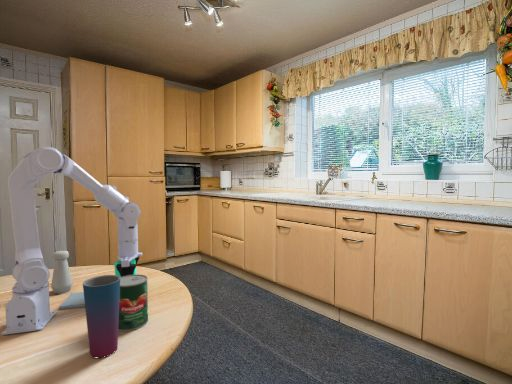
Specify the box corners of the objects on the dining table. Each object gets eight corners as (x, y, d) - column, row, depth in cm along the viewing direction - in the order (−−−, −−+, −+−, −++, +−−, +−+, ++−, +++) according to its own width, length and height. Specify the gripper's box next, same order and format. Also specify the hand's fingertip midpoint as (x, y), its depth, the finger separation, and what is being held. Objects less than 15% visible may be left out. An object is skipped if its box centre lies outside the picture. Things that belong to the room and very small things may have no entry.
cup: (127, 341, 63) (125, 274, 62) (113, 361, 56) (110, 286, 56) (96, 342, 63) (94, 275, 62) (77, 361, 56) (75, 286, 55)
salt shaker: (77, 288, 95) (75, 249, 94) (64, 295, 89) (62, 253, 88) (60, 287, 95) (59, 249, 95) (46, 294, 89) (45, 253, 89)
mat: (99, 304, 82) (99, 302, 82) (59, 309, 79) (59, 306, 79) (107, 291, 91) (107, 289, 91) (71, 295, 88) (71, 293, 88)
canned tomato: (126, 334, 66) (125, 287, 65) (107, 325, 70) (105, 281, 69) (155, 320, 73) (154, 277, 72) (135, 312, 77) (134, 272, 76)
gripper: (139, 244, 83) (140, 290, 84) (143, 235, 97) (144, 274, 97) (112, 245, 81) (114, 293, 81) (120, 236, 95) (121, 276, 95)
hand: (129, 283), depth 89 cm, fingers closed on candle, 6 cm apart
